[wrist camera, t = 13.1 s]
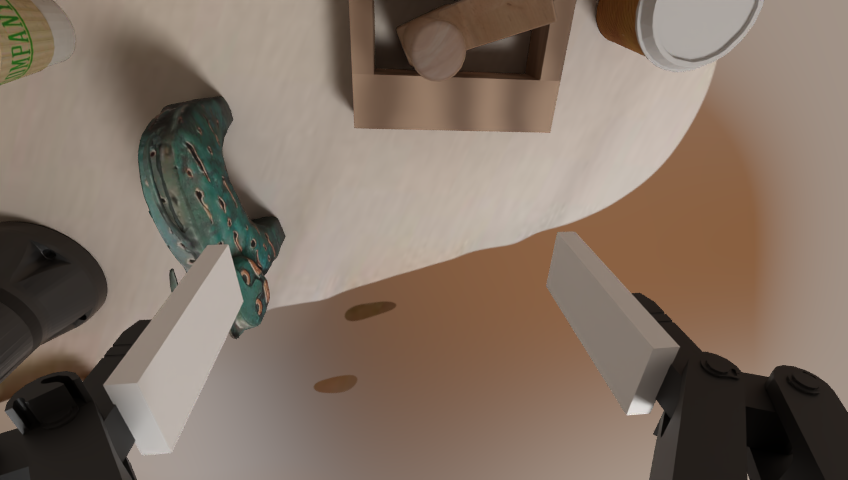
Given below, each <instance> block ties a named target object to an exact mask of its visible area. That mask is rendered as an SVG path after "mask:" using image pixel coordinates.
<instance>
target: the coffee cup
mask: <svg viewBox="0 0 848 480" xmlns="http://www.w3.org/2000/svg"><path fill="white" fill-rule="evenodd" d="M75 44H76V38H75V32H74V29H73V26H72V24H71V22H70V20H69V19H68V17H67V15H66V14H65V13H64V12H63V10H62V9H61V8H60V7H59V6H58V5H57V4H56V3H55V2H54V1H52V0H0V85H2V84H5V83H8V82H11V81H13V80H16V79H19V78H22V77H25V76H27V75H30V74H33V73H36V72H39V71H41V70H43V69H44V68H46V67H48V66H51V65H53V64H56V63H59V62H62V61H65V60H66V59H68V58H69V57H70V56H71V55H72V54H73V51H74V49H75Z"/></svg>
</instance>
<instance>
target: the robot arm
mask: <svg viewBox="0 0 848 480" xmlns="http://www.w3.org/2000/svg"><path fill="white" fill-rule="evenodd" d="M546 287H547V288H548V290H549V291H550V293H551V295H552V296H553V298H554V300H555V301H556V303H557V304H558V306H559V308H560V309H561V311H562V312H563V314H564V316H565V317H566V319H567V320H568V322H569V324H570V325H571V327H572V328H573V330H574V332H575V333H576V335H577V337H578V338H579V340H580V341H581V343H582V345H583V346H584V347H585V349H586V351H587V353H588V354H589V356H590V357H591V359H592V361H593V362H594V364H595V366H596V367H597V369H598V370H599V372H600V374H601V375H602V377H603V378H604V380H605V382H606V383H607V385H608V386H609V388H610V390H611V391H612V393H613V394H614V396H615V398H616V399H617V401H618V403H619V404H620V406H621V407H622V409H623V411H624V412H625V414H626V415H635V414H647V413H650V412H651V410H652V408H653V406H654V403H655V401H656V400H657V401H658V402H659V404H660V405H661V407H662V408H663V409H664V412H663V414H662V416H661V418H660V420H659V423H658V425H657V427H656V429H655V431H654V433H653V434H654V435H656V436H657V440H656V446H655V451H654V457H653V462H652V467H651V473H650V478H649V480H747V473H748V476H749V479H750V480H848V412H847V411H846V409H845V407H844V406H843V404H842V403H841V401H840V400H839V398H838V396H837V395H836V394H835V392H834V391H833V389H831V387H830V386H829V385H828V384H827V383H826V382H824V381H823V380H822V379H820V378H819V377H817V376H816V375H814V374H812V373H810V372H808V371H806V370H803V369H800V368H797V367H794V366H786V365H782V366H777V367H776V368H775V369H774V370H773V371H772V373H771V375H770V376H769V377H765V376H760V375H754V374H749V373H743V372H741V371H740V370H739V369H738V367H737V366H736V365H734V364H733V363H731V362H730V361H728V360H727V359H725V358H723V357H721V356H719V355H716V354H713V353H709V352H702V351H701V350H700V349H699V348H698V347H697V346H696V345H695V343H693V341H692V340H690V338H689V337H688V336H687V335H686V334H685V333H684V332H683V331H682V330H681V329H680V328H679V327H678V326H677V325H676V324H675V323H673V322H672V320H671V319H670V318H669V317H668V316H667V315H666V314H664V311H663V310H662V309H661V308H660V307H659V306H658V305H657V304H656V303H655V302H654V301H652V300H650V299H649V298H647V297H645V296H644V295H642V294H641V293H630V292H629V290H628V289H627V288H626V287H625V286H624V285H623V284H622V283H621V282H620V281H619V280H618V278H617V277H616V276H615V275H614V274H613V273H612V272H611V271H610V270H609V269H608V267H607V266H606V265H605V264H604V263H603V262H602V261H601V260H600V259H599V258H598V257H597V255H596V254H595V253H594V252H593V251H592V250H591V249H590V248H589V247H588V245H587V244H586V243H585V242H584V241H583V240H582V239H581V238H580V237H579V236H578V234H577V233H576V232H557V236H556V241H555V246H554V251H553V256H552V261H551V266H550V270H549V275H548V280H547V285H546ZM106 296H107V282H106V278H105V276H104V273H103V271H102V269H101V268H100V266H99V265H98V263H97V262H96V261H95V259H94V258H93V257H92V256H91V255H90V254H89V253H88V252H87V251H86V250H85V249H83V248H82V247H81V246H80V245H78V244H77V243H76V242H74V241H73V240H71V239H69V238H68V237H66V236H64V235H62V234H60V233H58V232H56V231H53V230H51V229H48V228H46V227H42V226H39V225H35V224H30V223H24V222H1V223H0V383H1V382H2V381H3V380H4V379H5V378H6V377H7V376H8V375H9V374H10V373H11V372H12V371H13V370H14V369H15V368H17V367H18V366H19V365H20V364H21V363H22V362H23V361H24V360H25V359H26V358H27V357H28V356H29V355H30V354H31V353H32V352H33V351H34V350H35V349H36V348H37V347H39V346H40V345H42V344H44V343H46V342H48V341H50V340H52V339H54V338H56V337H58V336H60V335H62V334H64V333H66V332H68V331H70V330H72V329H74V328H76V327H78V326H80V325H82V324H83V323H85V322H86V321H87V320H89V319H90V318H91V317H92V316H93V315H94V314H95V313H96V312H97V311H98V310H99V309H100V308H101V306H102V305H103V304H104V302H105V300H106ZM242 303H243V298H242V294H241V290H240V286H239V282H238V279H237V275H236V271H235V267H234V264H233V260H232V256H231V252H230V248H229V245H228V244H223V245H207V246H206V248H205V249H204V250H203V252H202V253H201V255H200V256H199V257H198V259H197V260H196V261H195V263H194V264H193V265H192V267H191V268H190V269H189V271H188V272H187V273H186V275H185V276H184V277H183V279H182V280H181V281H180V283H179V284H178V285H177V287H176V288H175V289H174V291H173V292H172V293H171V295H170V296H169V297H168V299H167V300H166V301H165V303H164V304H163V305H162V307H161V308H160V309H159V311H158V312H157V313H156V315H155V316H154V317H153V319H152V320H139V321H138V322H136V323H135V324H134V325H132V326H131V327H129V328H128V329H127V330H125V331H124V332H123V333H122V334H121V335H120V337H119V338H118V339H117V340H116V342H115V343H114V344H113V347H111V348H110V349H109V350H108V351H107V353H106V354H105V355H104V358H102V359H101V360H100V361H99V363H98V364H97V365H96V366H95V368H94V369H93V370H92V371H91V373H90V374H89V375H88V376H87V377H86V379H85V380H84V381H83V382H82V381H81V379H80V377H79V376H78V375H77V374H76V373H73V372H68V371H64V372H56V373H52V374H49V375H46V376H43V377H40V378H38V379H36V380H34V381H33V382H31V383H29V384H27V385H25V386H24V387H23V388H21V389H20V390H19V391H17V392H16V393H15V394H14V395H13V396H12V397H11V399H10V400H9V401H8V402H7V405H6V409H5V412H6V413H7V415H8V416H9V417H10V419H11V420H12V421H13V423H14V424H15V425H16V427H17V429H14V430H11V431H7V432H4V433H1V434H0V480H137V479H136V476H135V474H134V471H133V469H132V466H131V464H130V462H129V460H128V458H127V457H126V456H127V455H128V453H129V451H130V449H131V448H132V446H133V444H134V442H135V444H136V446H137V447H138V449H139V451H140V453H141V454H142V455H152V454H164V453H172V451H173V449H174V447H175V445H176V443H177V441H178V438H179V437H180V434H181V432H182V430H183V428H184V426H185V424H186V422H187V420H188V417H189V415H190V413H191V411H192V409H193V407H194V405H195V403H196V401H197V398H198V396H199V394H200V392H201V390H202V388H203V386H204V384H205V381H206V379H207V377H208V375H209V373H210V371H211V369H212V367H213V365H214V363H215V360H216V358H217V356H218V354H219V352H220V350H221V348H222V346H223V343H224V341H225V339H226V337H227V335H228V333H229V331H230V329H231V327H232V325H233V322H234V320H235V318H236V316H237V314H238V312H239V310H240V308H241V305H242Z"/></svg>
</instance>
